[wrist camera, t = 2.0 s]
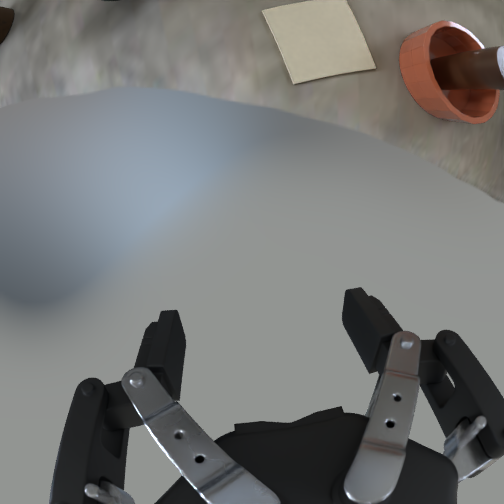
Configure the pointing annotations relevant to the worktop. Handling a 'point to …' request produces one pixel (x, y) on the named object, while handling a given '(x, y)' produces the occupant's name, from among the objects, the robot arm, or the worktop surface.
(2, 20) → the olive oil
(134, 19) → the worktop surface
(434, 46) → the pot
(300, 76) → the cloth
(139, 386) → the robot arm
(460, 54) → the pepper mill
